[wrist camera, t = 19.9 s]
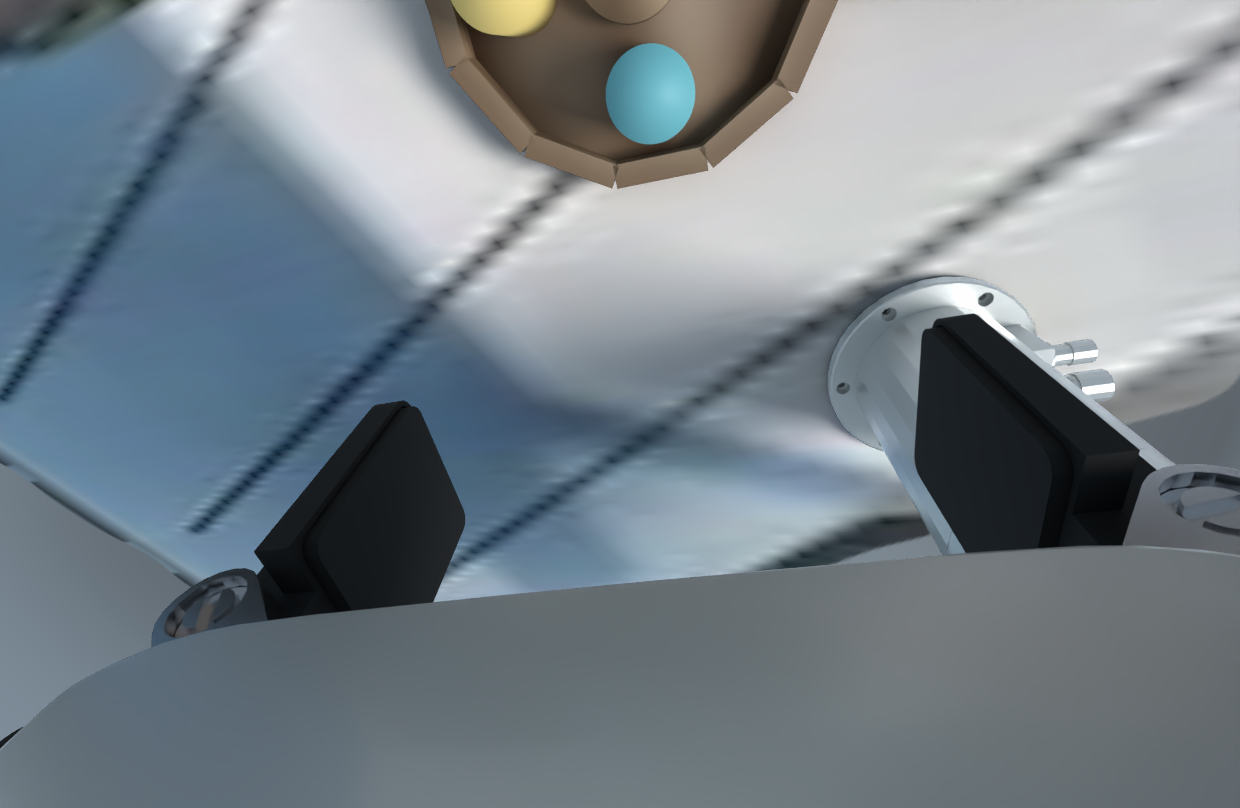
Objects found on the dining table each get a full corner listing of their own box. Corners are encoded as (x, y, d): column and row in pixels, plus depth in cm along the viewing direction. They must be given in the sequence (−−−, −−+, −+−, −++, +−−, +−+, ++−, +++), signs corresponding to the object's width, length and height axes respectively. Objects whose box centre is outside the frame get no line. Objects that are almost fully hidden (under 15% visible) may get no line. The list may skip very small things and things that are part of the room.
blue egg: (685, 36, 29) (688, 33, 25) (695, 123, 31) (700, 134, 27) (606, 54, 30) (597, 55, 25) (622, 138, 32) (615, 152, 27)
